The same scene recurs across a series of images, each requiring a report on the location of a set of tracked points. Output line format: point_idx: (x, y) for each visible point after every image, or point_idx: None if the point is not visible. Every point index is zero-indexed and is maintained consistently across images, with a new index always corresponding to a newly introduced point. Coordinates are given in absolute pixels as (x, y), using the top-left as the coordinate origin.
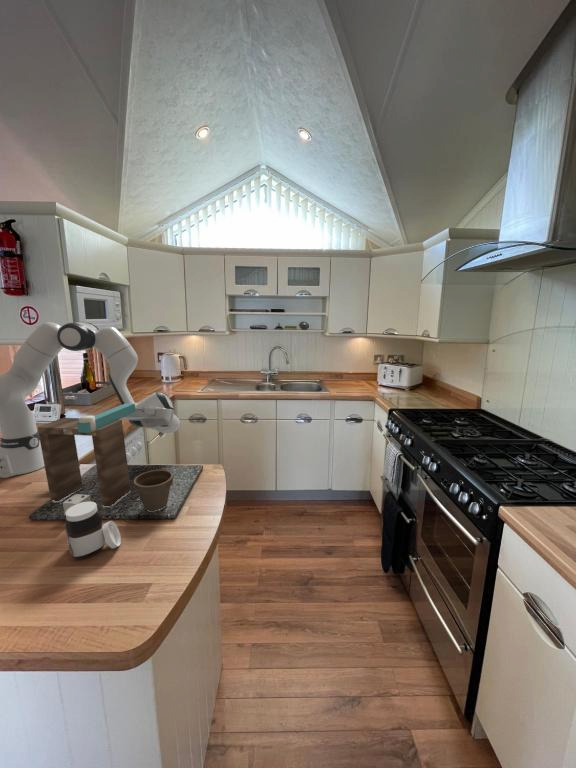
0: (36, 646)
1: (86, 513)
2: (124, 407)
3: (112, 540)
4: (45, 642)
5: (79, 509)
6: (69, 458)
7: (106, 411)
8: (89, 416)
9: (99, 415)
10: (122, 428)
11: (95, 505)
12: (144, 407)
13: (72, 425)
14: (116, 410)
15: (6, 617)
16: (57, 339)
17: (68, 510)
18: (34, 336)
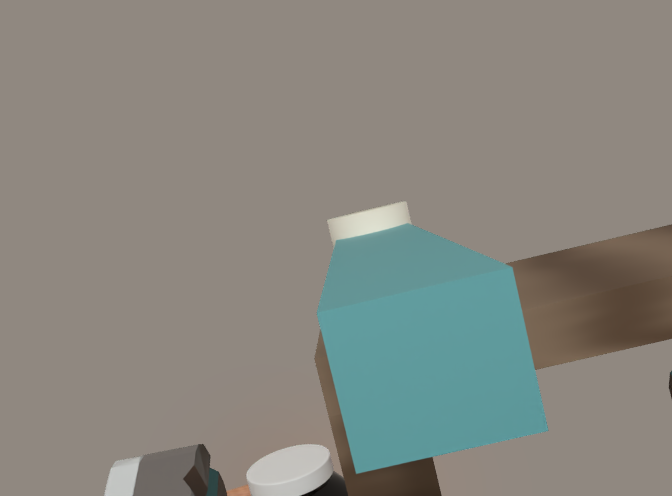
0: (244, 486)
1: (255, 462)
2: (333, 273)
3: None
4: (235, 492)
5: (290, 460)
6: None
7: (418, 236)
8: (366, 211)
9: (381, 235)
10: (336, 443)
11: (253, 480)
12: (153, 455)
13: (589, 253)
14: (343, 258)
15: None
16: None
17: (321, 450)
18: None
